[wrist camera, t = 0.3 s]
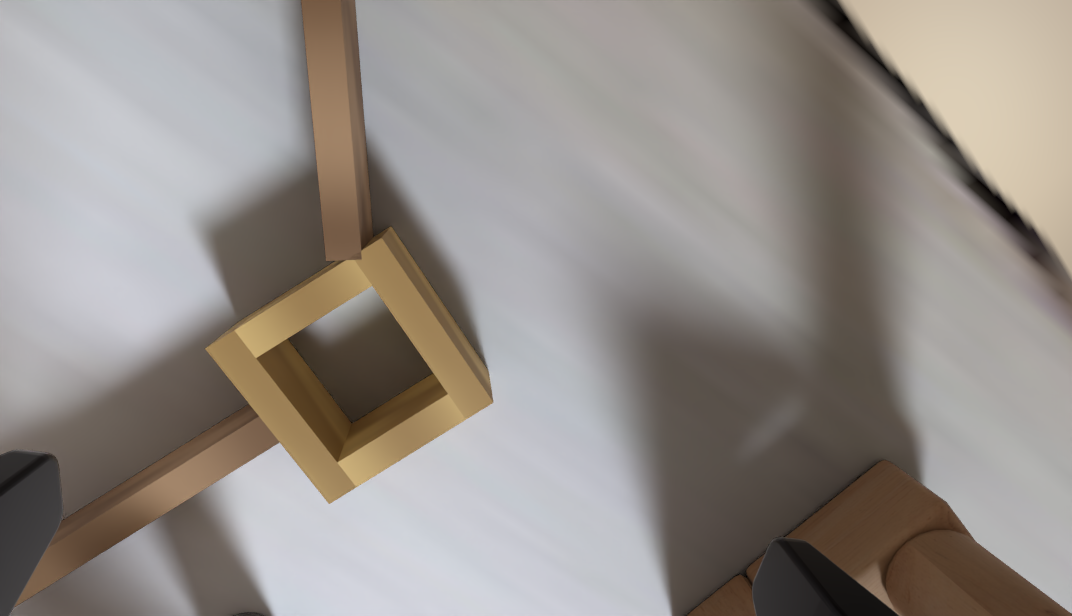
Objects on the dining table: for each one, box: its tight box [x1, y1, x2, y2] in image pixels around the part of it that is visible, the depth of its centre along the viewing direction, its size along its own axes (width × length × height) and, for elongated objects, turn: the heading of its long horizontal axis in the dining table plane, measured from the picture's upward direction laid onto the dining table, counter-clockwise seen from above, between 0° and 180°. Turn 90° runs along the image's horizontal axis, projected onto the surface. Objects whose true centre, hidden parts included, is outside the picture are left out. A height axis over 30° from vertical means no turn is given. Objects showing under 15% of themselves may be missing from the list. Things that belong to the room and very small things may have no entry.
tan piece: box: [14, 0, 493, 607], centre depth 20 cm, size 26×18×3 cm
